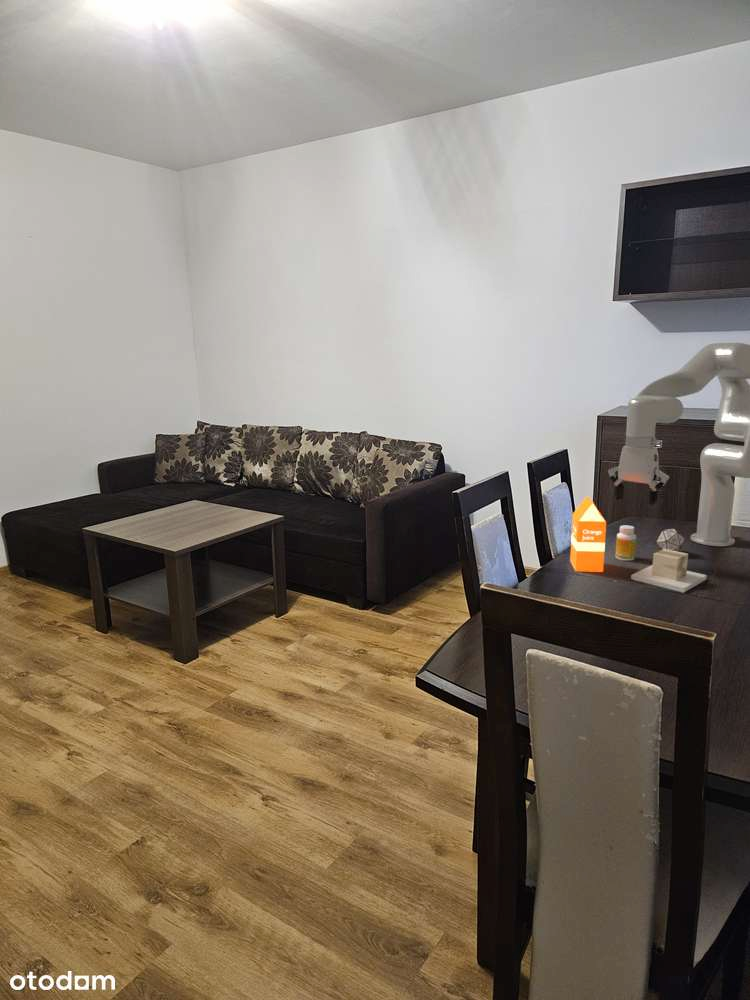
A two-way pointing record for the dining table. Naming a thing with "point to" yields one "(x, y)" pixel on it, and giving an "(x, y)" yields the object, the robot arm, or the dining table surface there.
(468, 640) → the dining table surface
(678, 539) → the game die
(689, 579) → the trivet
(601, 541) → the orange juice
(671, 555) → the beech block
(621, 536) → the supplement bottle
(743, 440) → the robot arm
